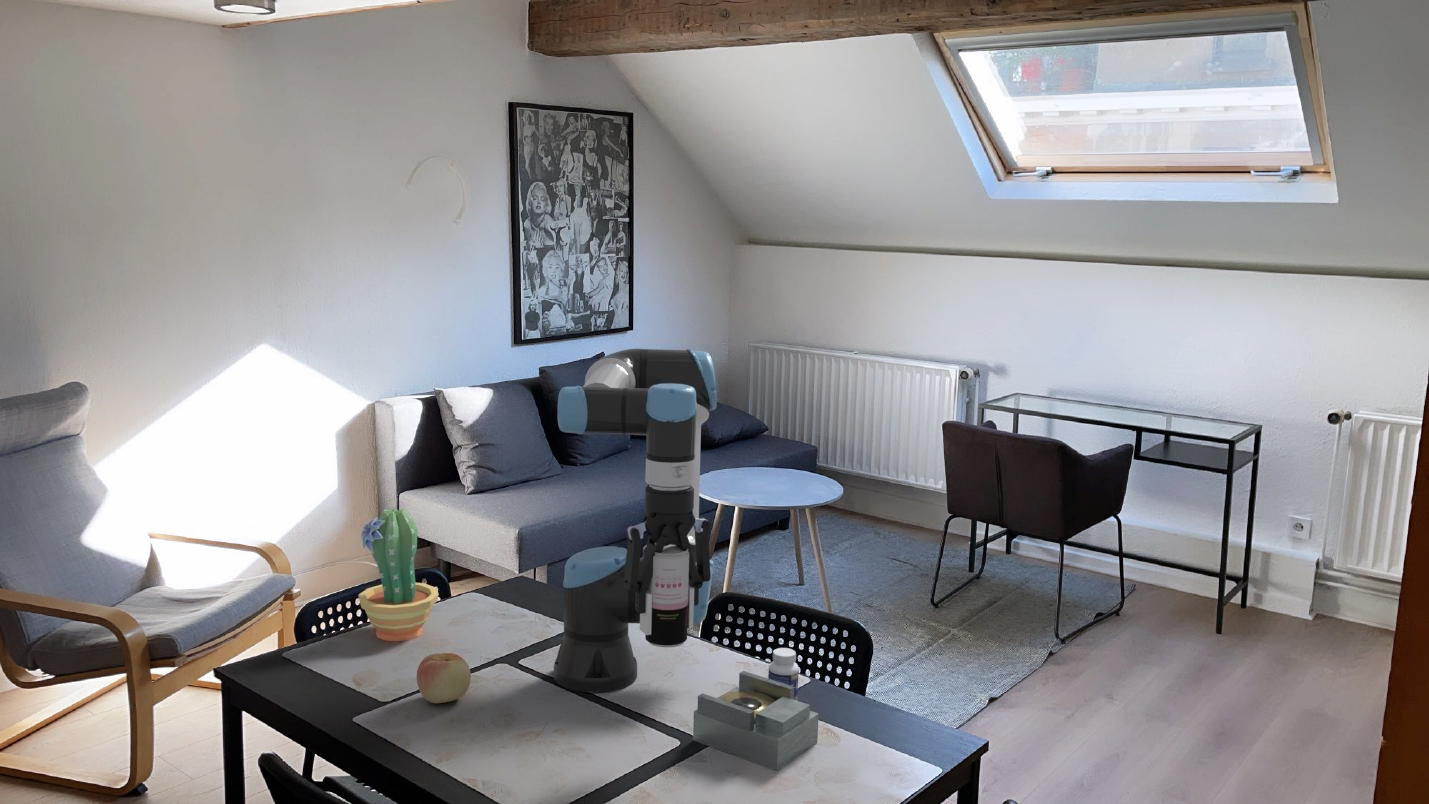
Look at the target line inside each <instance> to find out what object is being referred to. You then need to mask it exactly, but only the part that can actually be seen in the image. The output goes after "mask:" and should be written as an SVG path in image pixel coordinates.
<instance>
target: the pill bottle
mask: <svg viewBox="0 0 1429 804" xmlns="http://www.w3.org/2000/svg"><path fill="white" fill-rule="evenodd" d="M772 660H773V661H771V662H770V663H769V665H768V675H767V676H768V677H767V678H768V679H771V680H774V681H778V682H781V683H784V684H787V685H790V686H794V700H796V701H798V695H799V694H798V692H799V691H798V690H799V674H800V672H799V671H800V670H799V669H800V668H799V665H798V663H796V662H797V661H796V660H797V653H796V651H795V650H794V649H792V648H788V647H778V648H776V649H774V650H773V651H772Z"/></svg>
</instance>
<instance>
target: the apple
mask: <svg viewBox="0 0 1429 804" xmlns="http://www.w3.org/2000/svg"><path fill="white" fill-rule="evenodd" d="M471 679H472V678H471V669H470V666H469V664H468V662H467V661H466V660H465V659H464V658H463V657H461V656H460V655H458V654H456V653H455V654H454V653H451V652H450V653H446V652H445V653H443V652H442V653H441V652H440V653H433V654H429V655H427V656H425V657H424V658H423V659H422V660H421V662H420V663H419V665H418V667H417V670H416V684H417V688H418V690H419V693H420V694H421V696H422V697H423V698H424V699H425V700H426V701H427V702H429V703H432V704H442V703H447V702H448V703H449V702H452V701H456V700H458V699H461V698H462V697H463V696H465V694H466V693H467V692H468V690H469V688H470V685H471Z"/></svg>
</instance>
